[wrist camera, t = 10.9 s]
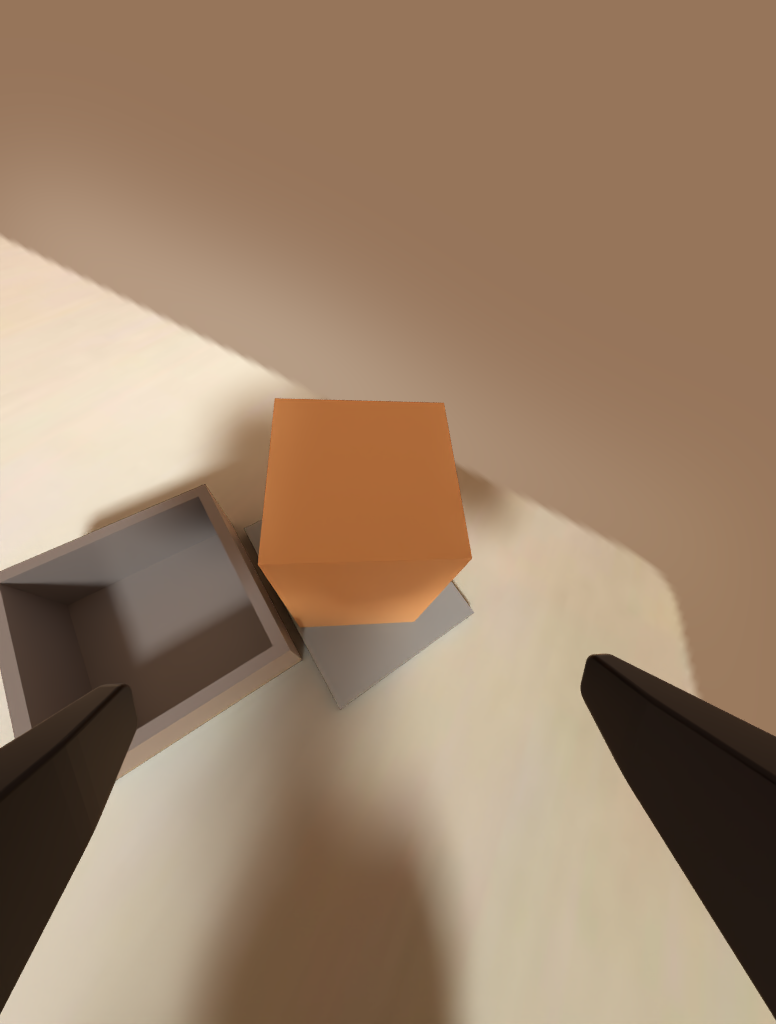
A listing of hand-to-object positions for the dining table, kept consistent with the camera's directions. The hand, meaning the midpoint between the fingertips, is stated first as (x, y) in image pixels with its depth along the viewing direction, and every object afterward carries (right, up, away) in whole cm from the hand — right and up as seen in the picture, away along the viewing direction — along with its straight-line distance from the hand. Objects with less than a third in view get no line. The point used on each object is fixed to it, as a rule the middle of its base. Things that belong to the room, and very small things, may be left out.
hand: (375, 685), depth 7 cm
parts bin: (-10, -3, +11) cm, 16 cm away
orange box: (-2, 0, +13) cm, 13 cm away
